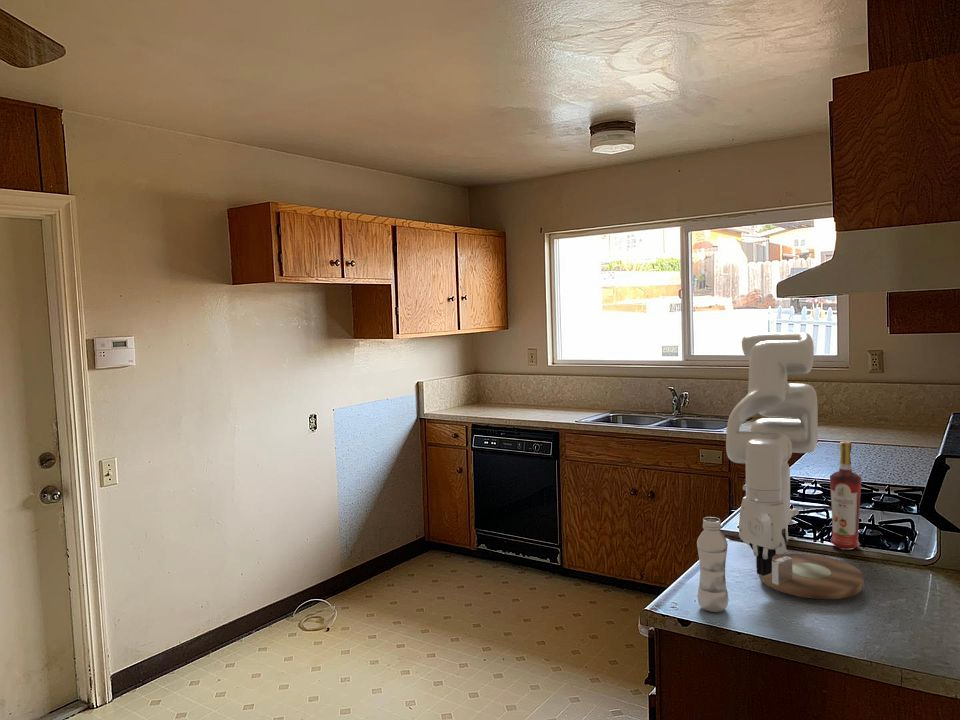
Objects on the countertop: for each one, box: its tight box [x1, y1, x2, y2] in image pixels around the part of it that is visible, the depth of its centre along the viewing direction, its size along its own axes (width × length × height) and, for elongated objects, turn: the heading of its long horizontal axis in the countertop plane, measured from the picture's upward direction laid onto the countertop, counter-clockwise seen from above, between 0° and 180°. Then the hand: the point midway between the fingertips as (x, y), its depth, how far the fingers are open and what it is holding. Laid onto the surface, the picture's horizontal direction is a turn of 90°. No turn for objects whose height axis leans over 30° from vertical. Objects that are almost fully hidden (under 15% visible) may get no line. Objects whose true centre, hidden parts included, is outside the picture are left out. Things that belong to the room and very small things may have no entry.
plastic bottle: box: [696, 516, 730, 613], centre depth 156 cm, size 6×7×20 cm
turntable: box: [758, 553, 864, 600], centre depth 166 cm, size 24×22×7 cm
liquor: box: [829, 441, 862, 548], centre depth 188 cm, size 7×7×28 cm
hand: (764, 573), depth 163 cm, fingers closed
